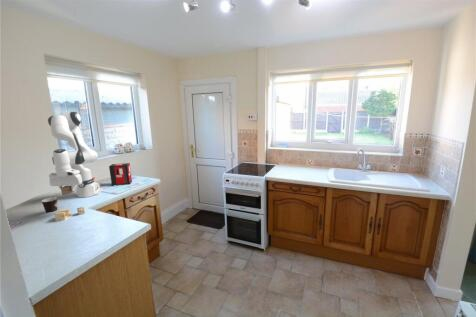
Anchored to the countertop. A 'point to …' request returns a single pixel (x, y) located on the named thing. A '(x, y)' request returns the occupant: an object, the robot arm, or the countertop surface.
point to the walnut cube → (66, 190)
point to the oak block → (62, 214)
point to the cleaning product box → (120, 174)
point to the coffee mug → (50, 204)
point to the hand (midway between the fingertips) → (67, 191)
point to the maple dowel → (80, 210)
